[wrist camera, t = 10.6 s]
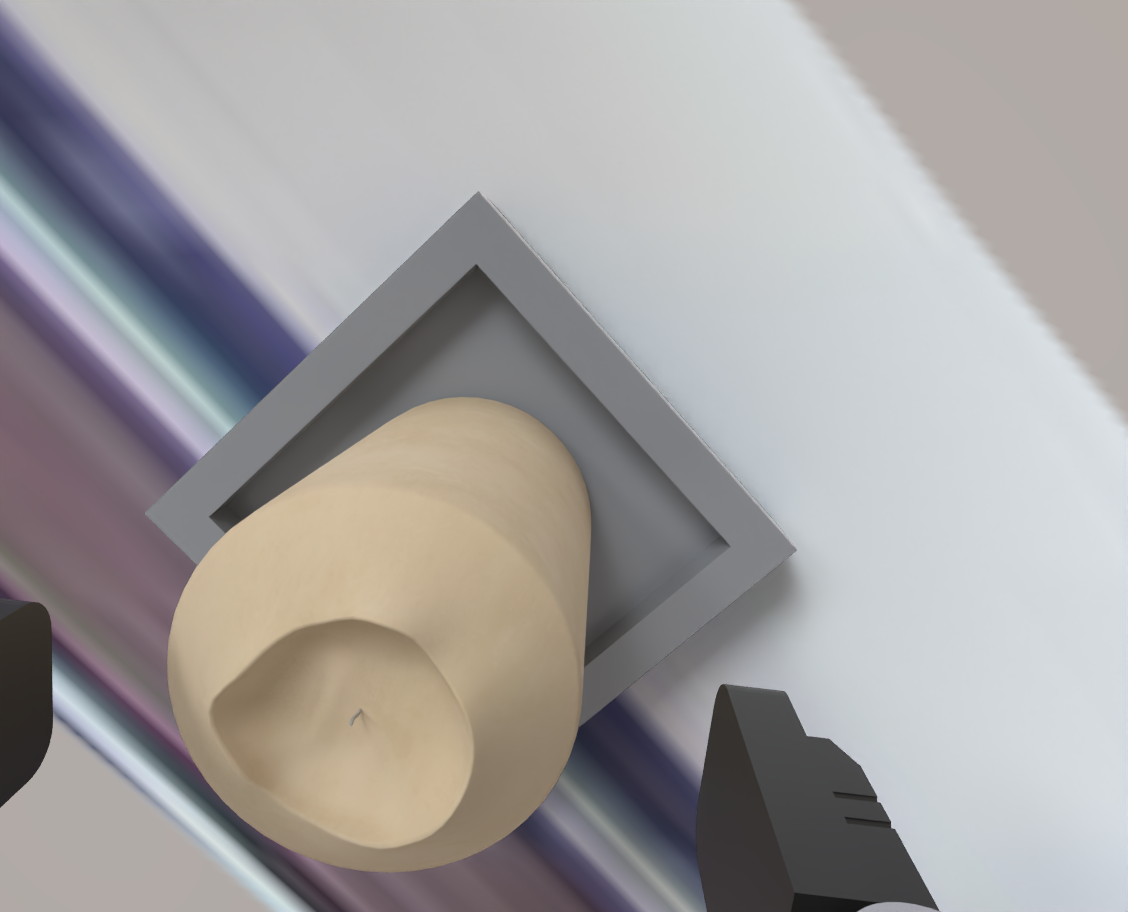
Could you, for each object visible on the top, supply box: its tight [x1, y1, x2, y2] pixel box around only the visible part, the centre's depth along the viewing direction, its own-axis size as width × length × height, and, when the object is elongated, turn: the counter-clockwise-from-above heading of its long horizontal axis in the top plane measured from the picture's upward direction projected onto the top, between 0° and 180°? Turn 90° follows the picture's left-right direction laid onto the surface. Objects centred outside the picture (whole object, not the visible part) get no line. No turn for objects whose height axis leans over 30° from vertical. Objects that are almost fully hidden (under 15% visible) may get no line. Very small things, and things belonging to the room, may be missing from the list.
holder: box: [144, 192, 797, 728], centre depth 20 cm, size 10×10×2 cm
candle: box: [167, 397, 591, 872], centre depth 15 cm, size 6×6×10 cm
